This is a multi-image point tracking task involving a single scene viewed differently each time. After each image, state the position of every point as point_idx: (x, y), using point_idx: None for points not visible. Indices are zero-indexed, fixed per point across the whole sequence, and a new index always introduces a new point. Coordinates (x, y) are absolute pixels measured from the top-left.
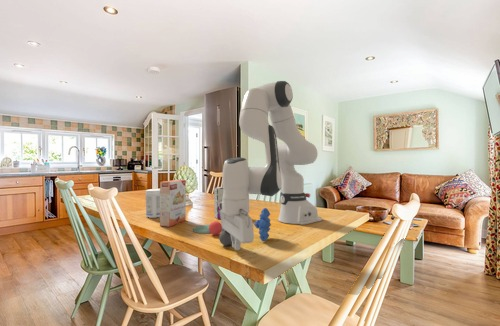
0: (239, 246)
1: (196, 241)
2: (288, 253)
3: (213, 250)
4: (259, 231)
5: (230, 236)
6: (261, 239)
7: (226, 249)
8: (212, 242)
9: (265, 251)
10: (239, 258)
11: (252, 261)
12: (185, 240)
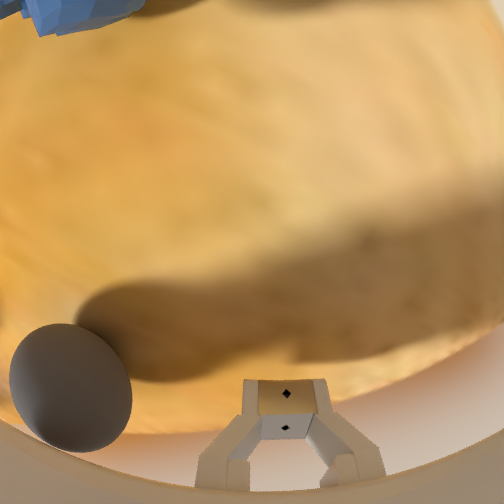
0: (327, 400)
1: None
2: (479, 19)
3: (169, 425)
4: (48, 18)
5: (107, 416)
6: (110, 23)
7: (174, 381)
8: None
9: (387, 119)
10: (374, 367)
11: (457, 315)
12: None
